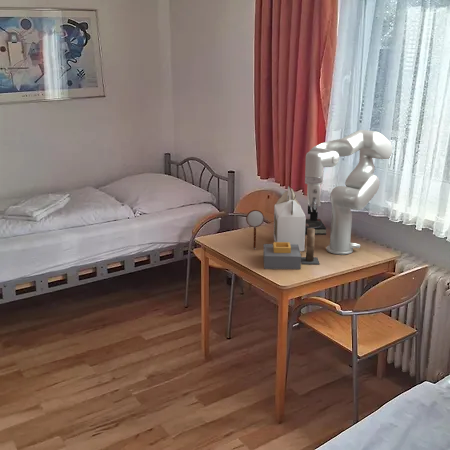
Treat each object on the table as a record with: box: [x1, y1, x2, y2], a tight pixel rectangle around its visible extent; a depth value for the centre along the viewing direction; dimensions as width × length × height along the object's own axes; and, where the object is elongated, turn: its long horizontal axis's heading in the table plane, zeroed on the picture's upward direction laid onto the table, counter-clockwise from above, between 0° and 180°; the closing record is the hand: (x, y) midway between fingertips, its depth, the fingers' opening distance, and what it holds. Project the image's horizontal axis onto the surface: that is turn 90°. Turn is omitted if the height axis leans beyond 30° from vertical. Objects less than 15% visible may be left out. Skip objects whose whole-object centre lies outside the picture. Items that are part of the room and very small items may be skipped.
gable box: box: [273, 185, 307, 252], centre depth 269 cm, size 22×13×28 cm, turn 179°
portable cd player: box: [305, 218, 327, 236], centre depth 295 cm, size 16×17×4 cm
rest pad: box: [301, 256, 321, 266], centre depth 250 cm, size 8×8×1 cm
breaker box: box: [262, 241, 302, 270], centre depth 248 cm, size 16×16×8 cm
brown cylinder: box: [305, 228, 316, 262], centre depth 248 cm, size 4×4×15 cm
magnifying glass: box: [245, 209, 265, 250], centre depth 263 cm, size 9×2×20 cm, turn 97°
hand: (312, 217), depth 244 cm, fingers open, 9 cm apart
